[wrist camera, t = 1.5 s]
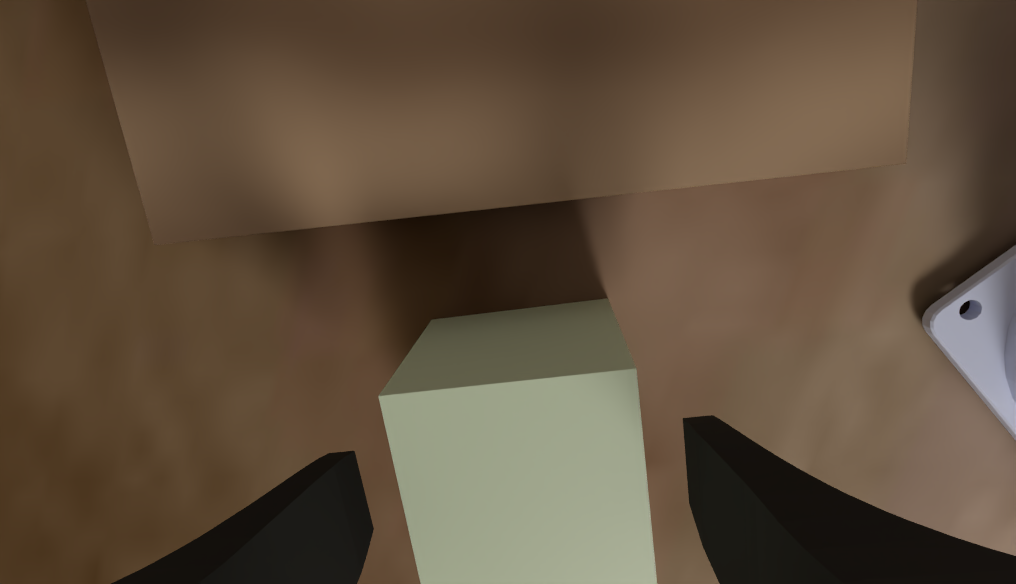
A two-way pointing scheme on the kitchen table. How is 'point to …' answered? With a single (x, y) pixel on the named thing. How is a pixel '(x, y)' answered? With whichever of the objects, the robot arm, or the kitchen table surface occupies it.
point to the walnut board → (488, 102)
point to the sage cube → (522, 449)
